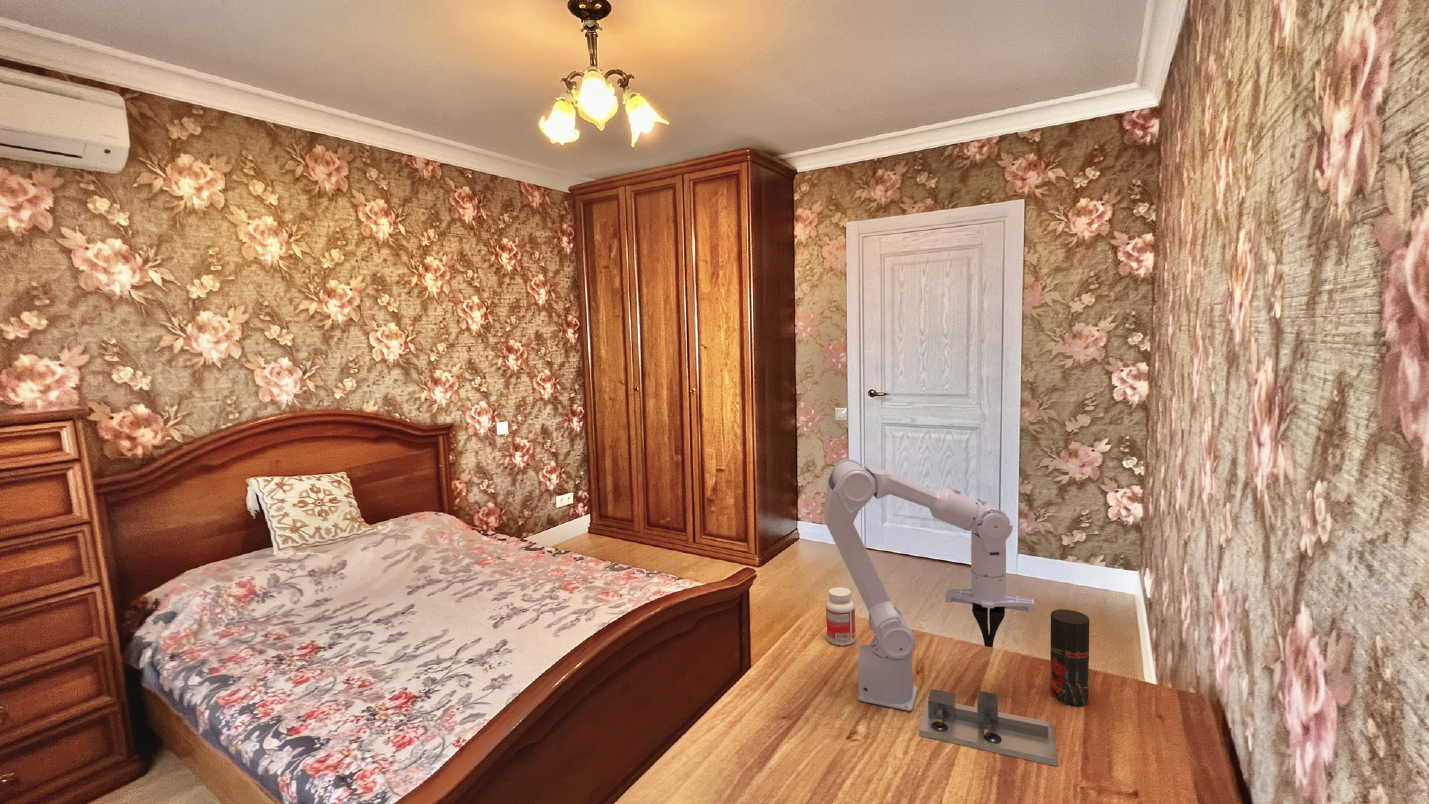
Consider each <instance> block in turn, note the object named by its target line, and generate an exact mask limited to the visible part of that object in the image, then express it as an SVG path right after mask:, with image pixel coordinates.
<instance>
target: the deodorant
mask: <svg viewBox="0 0 1429 804" xmlns="http://www.w3.org/2000/svg"><path fill="white" fill-rule="evenodd" d="M1049 663H1050V664H1049V666H1050V671H1049V672H1050V673H1049V674H1050V677H1049V678H1050V680H1049V682H1050V683H1049V684H1050V686H1049V689H1050V691H1049V692H1050V693H1049V694H1050V696H1051V697H1053V698H1054V699H1055V700H1054V699H1053V698H1052V699H1053V700H1054V701H1056V700H1057V701H1058V703H1059V702H1061V703H1060V704H1062V703H1063V704H1062V705H1065V706H1068V705H1070V706H1069V707H1073V706H1074V707H1075V708H1076V707H1077V708H1081V707H1085V706H1087V705H1088V704H1089V695H1090V694H1089V692H1090V690H1089V689H1090V688H1089V687H1090V686H1089V685H1090V679H1089V678H1090V618H1089V616H1087V615H1086V614H1084V613H1083V612H1079V611H1078V610H1077V611H1075V610H1072V609H1065V608H1064V609H1062V608H1061V609H1054V610H1052V611H1051V612H1050V662H1049ZM1057 701H1056V702H1057Z"/></svg>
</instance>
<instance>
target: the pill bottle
mask: <svg viewBox="0 0 1429 804" xmlns="http://www.w3.org/2000/svg"><path fill="white" fill-rule="evenodd" d="M828 592H829V593H828V598H829V599H828V600H827V601H826V604H825V615H826V619H825V620H826V637H827V640H828V642H829V643H830V642H831V644H832V645H834V644H835V646H838V645H840V646H839V647H845V645H846V646H850V645H852V644H854V643H855V642H856V639H857V638H856V608H855V607H856V606H855V602H854V601H853V600H852V592H851V589H849V588H846V587H841V586H839V587H838V586H837V587H833V588H830V589H829V591H828Z"/></svg>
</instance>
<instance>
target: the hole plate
mask: <svg viewBox="0 0 1429 804" xmlns="http://www.w3.org/2000/svg"><path fill="white" fill-rule="evenodd" d="M928 699H929V697H926V699H925V704H924V706H923V710H922V711H923V712H922V717H921V721H920V725H919V727H918V736H920V737H924V738H928V739H933V740H937V741H942V742H947V743H951V744H956V745H960V746H964V747H969V748H973V749H978V750H983V751H987V752H991V753H994V754H995V753H996V754H1000V755H1004V756H1009V757H1013V758H1018V759H1023V760H1028V761H1032V762H1035V763H1036V762H1037V763H1039V764H1044V763H1045V765H1050V766H1053V767H1054V766H1055V767H1059V766H1058V765H1059V762H1058V751H1057V750H1058V749H1057V742H1056V740H1057V739H1056V731H1055V724H1054V722H1051V721H1047V720H1042V719H1036V718H1031V717H1026V716H1022V715H1021V716H1020V715H1017V714H1013V713H1012V714H1010V713H1006V712H1002V711H1001V712H1000V711H998V717H1002V718H1007V719H1012V720H1017V721H1022V722H1027V723H1032V724H1037V725H1042V726H1047V727H1048V738H1044V737H1039V736H1034V735H1030V734H1025V733H1020V732H1015V731H1010V730H1005V729H1001V728H996V727H991V726H990V736H986V735H984V725H981V724H976V723H972V722H967V721H962V720H957V719H954V723H952V722H947V721H942V726H939V725H937V719H933V718H928ZM956 708H957V709H962V710H967V711H972V712H977V707H975V706H969V705H966V704H965V705H964V704H961V703H956ZM977 713H978V712H977Z"/></svg>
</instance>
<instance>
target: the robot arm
mask: <svg viewBox="0 0 1429 804" xmlns="http://www.w3.org/2000/svg"><path fill="white" fill-rule="evenodd" d="M863 466H864V467H865V468H864V467H863ZM889 495H890V496H894V497H896V498H899V499H902V500H904V501H908V502H910V503H913V504H917V505H919V506H922V507H925V508H928V509H929V512H930V514H931V517H933V518H934V519H936V520H939V521H941V522H944V523H946V524H949V525H950V526H954V527H957V528H959V529H962V530H964V531H967V532H970V534H971V536H970V538H971V539H970V540H971V545H970V553H971V554H970V556H971V557H970V558H971V559H970V563H971V565H970V567H971V568H970V569H971V570H970V574H971V575H970V577H971V578H970V579H971V582H970V583H971V584H970V585H971V588H948V587H946V588H945V591H944V593H945V595H944V596H945V597H944V598H945V600H944V601H945V603H950V604H951V603H953V602H954V603H961V604H969V605H972V608H971V612H972V615H973V617H974V618H975V620H976V622H977V624H978V626H979V629H980V632H981V635H982V638H983V639H982V640H983V645H984V647H986V648H993V647H994V642H995V641H994V640H995V637H996V634H997V631H998V630H999V627H1000V625H1001V623H1002V622H1003V620H1004V618H1005V615H1006V609H1007V610H1014V611H1020V612H1021V611H1023V612H1026V613H1028V614H1035V599H1034V598H1031V597H1025V596H1020V595H1016V594H1013V593H1007V540H1008V539H1009V538H1010V536H1011V535H1012V531H1013V527H1014V526H1013V525H1012V524H1011V521H1010V518H1009V517H1008V516H1007V514H1006V513H1004V512H1003V511H1002V510H1000V509H999V508H997V507H995V506H994V505H992V504H990V503H988V502H987V501H986V500H984V499H981V498H977V499H975V498H972V497H969V496H967V495H964V494H962V491H961V489H958V488H956V487H954V486H952V487H950V488H948V487H942V488H940V489H937V490H933V489H930V488H928V487H925V486H923V485H921V484H919V483H916V482H914V481H912V480H909V479H907V478H905V477H902V476H900V475H897V474H895V473H894V472H891V471H888V470H886V469H883V468H880V467H877V466H873V465H871V464H867V463H862V464H860V462H858V461H856V460H854V459H843V460H841V461H838V462H837V463H836V464H834V466H833V468H832V469H831V471H830V474H829V475H828V477H827V479H826V493H825V501H824V509H823V520H824V524H825V525H826V527H827V529H828V531H829V533H830V535H831V538H832V539H833V541H834V543H835V545H836V547H837V550H838V551H839V554H840V555H841V558H842V559H843V562H844V564H845V565H846V568H847V570H848V573H849V574H850V577H851V578H852V581H853V582H854V585H855V587H856V588H857V591H858V593H859V595H860V597H861V599H862V602H863V603H864V605H865V608H866V609H867V611H868V625H869V628H870V630H871V631H872V632H873V633H874V636H873V638H872V640H871V643H862V644H861V646H860V649H859V652H858V661H857V673H858V676H857V679H858V682H857V683H858V695H857V700H858V702H859V701H860V702H864V703H869V704H873V705H877V706H883V707H887V708H891V709H897V710H898V709H899V710H902V711H908V712H911V711H913V708H914V705H915V701H916V698H917V697H916V696H917V693H918V690H919V687H918V686H917V685H914V684H913V682H914V681H913V678H914V677H913V676H914V675H913V674H914V673H913V672H914V671H913V651H914V649H915V647H916V636H915V635H914V632H913V631H912V629H911V628H910V627H909V626H908V624H907V622H906V621H905V619H904V618H903V615H902V613H901V611H900V610H899V609H898V608H897V607H896V606H894V605H893V602H892V601H891V598H890V596H889V594H888V592H887V591H886V588H885V586H884V584H883V581H882V580H881V578H880V576H879V574H878V571H877V569H876V567H875V565H874V563H873V561H872V559H871V557H870V556H869V552H868V551H867V548H866V547H865V544H864V542H863V541H862V538H861V537H860V534H859V532H858V530H857V528H856V526H855V521H856V518H857V516H858V514H859V511H861V510H862V509H863V508H864V507H865V506H866V505H867V504H868V502H870V501H871V499H872V498H873V497H874V498H875V499H876V500H879V499H881V498H884V497H887V496H889Z"/></svg>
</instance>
